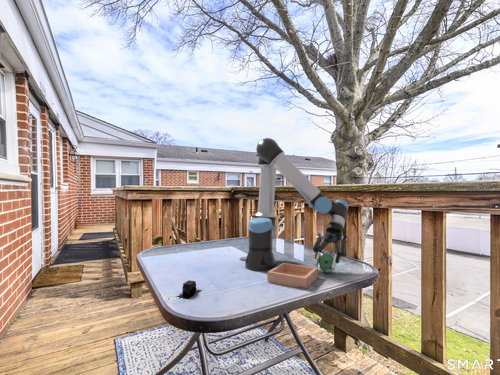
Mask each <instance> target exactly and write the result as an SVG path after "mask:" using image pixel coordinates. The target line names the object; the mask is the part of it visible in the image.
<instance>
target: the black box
mask: <svg viewBox="0 0 500 375" xmlns="http://www.w3.org/2000/svg"><path fill="white" fill-rule="evenodd" d="M182 284H183V285H182V293H180V294H178V295H179V296H178V295H177V296H176V297H179V298H178V299H181V298H183V300H187V299H188V300H190V299H192V298H193V297H195V296H196V295H197V294H199V293H201V292H202V291H203V289H198V288H197V283H196V281H195V280H190V279H189V280H187V281H185V282H184V283H182Z"/></svg>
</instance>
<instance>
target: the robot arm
mask: <svg viewBox="0 0 500 375" xmlns="http://www.w3.org/2000/svg"><path fill="white" fill-rule="evenodd" d="M256 155H257V156H258V163H257V164H258V166H257V167H259V169H260V172H259V173H260V175H259V176H260V177H259V188H258V190H259V192H258V206H257V212H256V213H255V214H254V218H251V219H250V220H249V221H248V225H247V227H248V253H247V255H246V258H245V261H244V267H245V269H247V270H252V271H261V272H263V271H270V270H272V269H273V268H275V267H277V261H276V258H275V256H274V252H273V237H274V236H275V234H276V232H277V226H276V221H277V216H276V215H275V213H274V210H275V209H274V208H275V195H276V194H275V193H276V180H277V172H279V173H280V175H281V176H283V177H284V179H286V181H288V182H289V184H290V185H291V186H293V188H294V189H295V190H296V191H298V193H300V195H301V196H302V197H303V198H304V199H305V200H306V201H307V202H308V207H309V208H310V209H312V210H315V211H317V213H319V214H325V215H327V216H329V218H328V221H327V226H326V230H325V232H324V233H321V232H320V233H318V235H317V239H316V241H315V243H314V246H313V247H312V252H314V253H315V254H314V259H315V260H314V266H315V268H319V259H320V257H321V256H322V253H321V252H322V251H324V249H325V248H326V246H328V245H329V244H330V243H332V244H334V245H335V251H336V253H334V256H333V258H334V259H333V263H332V269H333V271H335V270H336V267H337V264H339V263H340V259H341V257H343V258H344V257H346V252H347V251H346V250H347V249H346V248H347V242H348V240H349V239H348V236H347V235H343V231H344V227H345V223H346V218H347V215H348V212H349V203H348V202H347V201H345V200H343V199H336V200H331V199H329V198H328V197H326V195H325V194H323V192H321V190H320V189H319V188H318V187H316V185H315V184H313V183H312V181H311V180H310V179H309V178H308V177H307V176H306V175H305V174H304V173H303V172H302V171H301V170H299V168H298V167H297V166H296V165H295V164H294V163H293V162H292V161H291V160H290V159H289V158H288V157H287V156H286V155H285V151H284V150H283V149H282V148H281V147H280V146H279V144H278V143H277V141H276V140H275V139H272V138H268V137H266V138H263V139H261V140H260V141H258V143H257V145H256ZM340 240H341V249H340V246H339V245H340V244H339V241H340ZM340 250H341V251H340Z"/></svg>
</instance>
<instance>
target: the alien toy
mask: <svg viewBox="0 0 500 375" xmlns="http://www.w3.org/2000/svg"><path fill="white" fill-rule="evenodd" d="M333 253H334V252H333V250H331V249H330V250H329V253H325V251H324V250H322V252H321V253H320V254H321V257H320V259H319V264H318V267H319V269H320V270H321V272H323V273H325V274H330V273H333V271H334V270H333V269H332V263H333V259H334V256H333V255H332V254H333Z"/></svg>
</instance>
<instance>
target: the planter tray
mask: <svg viewBox="0 0 500 375" xmlns="http://www.w3.org/2000/svg"><path fill="white" fill-rule="evenodd" d="M318 268H319V267H316V266H315V267H313V266H306V265H300V264H293V263H288V262H287V263H286V262H282V263H281V264H278V265H276V267H275V268H273V269H271V270H267V271H266V272H267V275H266V276H267V279H266V280H267V282H268V283H271V284H276V285H281V286H282V285H283V286H287V287H292V288H298V289H302V290H307V289H308V288H309V287H310V286H311V285H312V284H313V283H314V282H315V281H316V280H317V279H318V278H319V269H318Z"/></svg>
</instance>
